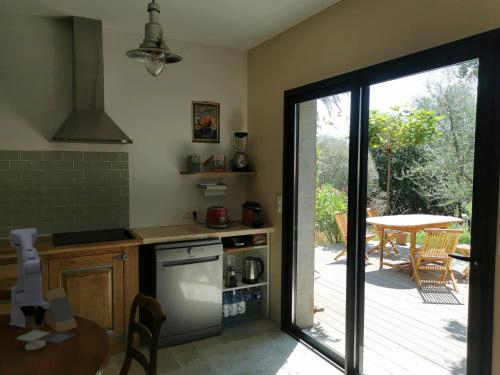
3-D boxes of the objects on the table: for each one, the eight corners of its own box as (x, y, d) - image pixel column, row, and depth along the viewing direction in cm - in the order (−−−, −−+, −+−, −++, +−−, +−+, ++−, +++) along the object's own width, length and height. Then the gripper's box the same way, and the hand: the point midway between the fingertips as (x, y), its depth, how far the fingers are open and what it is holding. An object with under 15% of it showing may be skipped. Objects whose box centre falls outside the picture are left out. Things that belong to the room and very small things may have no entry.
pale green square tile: (16, 340, 157) (16, 337, 157) (35, 331, 165) (35, 329, 165) (31, 343, 154) (31, 341, 154) (49, 335, 162) (49, 332, 162)
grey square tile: (42, 341, 156) (42, 339, 156) (60, 333, 164) (60, 330, 164) (58, 345, 153) (58, 342, 153) (75, 336, 161) (74, 334, 160)
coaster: (20, 348, 150) (20, 346, 150) (37, 341, 156) (36, 338, 156) (33, 352, 147) (33, 349, 147) (49, 344, 153) (49, 341, 153)
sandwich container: (58, 334, 163) (56, 299, 162) (45, 324, 174) (43, 291, 173) (78, 328, 169) (77, 294, 168) (64, 318, 180) (63, 287, 179)
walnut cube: (25, 328, 150) (25, 316, 150) (35, 324, 154) (35, 312, 154) (33, 330, 148) (33, 318, 148) (43, 325, 152) (43, 314, 152)
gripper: (10, 290, 150) (12, 325, 150) (37, 295, 144) (38, 330, 145) (27, 285, 156) (28, 318, 157) (53, 289, 151) (54, 323, 151)
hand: (34, 324), depth 151 cm, fingers closed on walnut cube, 4 cm apart
